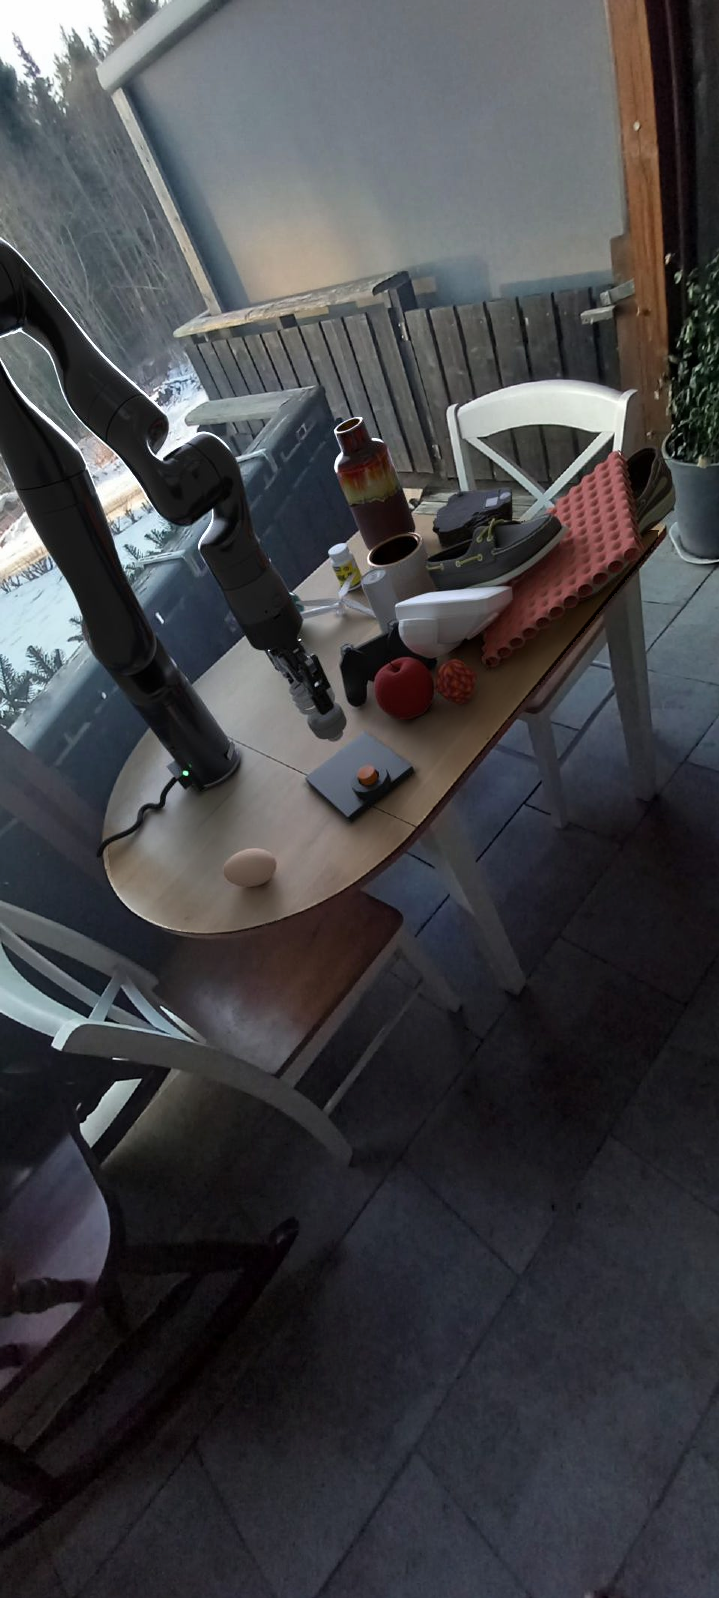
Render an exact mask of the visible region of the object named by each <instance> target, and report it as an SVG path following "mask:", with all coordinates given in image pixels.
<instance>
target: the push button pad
mask: <svg viewBox="0 0 719 1598" xmlns="http://www.w3.org/2000/svg"><path fill="white" fill-rule="evenodd" d="M364 766H372V767H374V769H375V771H376V773H377V775H378V779H377V781H376V782H375V783H373V784H372V785H369V786H364V785H362V783H361V782H360V780H359V778H358V775H357V774H358V771H359V770H360V769H361V768H362V767H364ZM415 773H416V771H415V769H414V766H413V765H412V764H410V763H409V762H408V761H407V760H405V759H403V758H402V757H401V756H400V755H398V754H397V753H395V752H394V751H392V750H391V749H390V748H389V747H387V746H386V745H384V744H383V743H382V742H380V741H378V740H377V739H376V738H375V737H373V736H372V735H371V734H369V733H368V732H366V731H363V732H362V733H361V734H359V735H358V736H357V737H356V738H354V739H352V740H351V741H350V742H349V743H347V745H345V746H344V747H342V748H341V749H340V750H339V751H337V752H336V753H335V754H333V755H332V756H330V757H329V758H328V759H327V760H325V761H324V762H323V763H321V764H320V765H319V766H318V767H316V769H314V770H312V771H311V772H310V773H309V774H308V775H306V776H305V777H304V779H305V781H306V782H307V784H308V785H309V786H310V787H311V788H312V789H314V791H315V792H317V793H318V794H319V796H321V797H322V798H323V799H324V800H325V801H327V802H328V803H329V805H331V806H332V807H333V808H334V809H335V810H336V811H337V812H338V813H339V814H340V815H342V816H343V817H344V818H345V819H346V820H347V821H348V822H349V823H350V824H352V823H354V822H355V821H356V820H358V818H360V817H362V815H364V814H365V813H366V812H368V811H369V810H370V809H371V808H372V807H374V806H375V805H376V804H377V803H378V802H380V801H381V800H383V798H385V797H386V796H387V795H389V794H390V793H391V792H392V791H393V790H395V789H397V788H398V787H399V786H400V785H401V784H403V783H404V782H405V781H406V780H408V779H409V778H410V777H411V776H412V775H414V774H415Z"/></svg>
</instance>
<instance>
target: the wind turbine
mask: <svg viewBox="0 0 719 1598" xmlns="http://www.w3.org/2000/svg"><path fill="white" fill-rule="evenodd" d="M355 575H356V572H355V573H354V574H352V575H351V576H349V577H348V578H347V580H346V581H345V583H344V585H343V586H342V588H340V590H339V591H338V593H337V595H338V596H339V597H338V598H337V597H334V598H333V597H332V598H321V599H308V600H302V601H296V604H300V605H303V606H304V607H317V608H313V609H308V610H305V611H304V612H300V614H301V616H302V618H303V619H304V620H307V619H311V618H315V617H318V616H322V615H326V614H331V613H335V612H337V614H338V615H341V616H342V615H344V614H346V609H345V608H346V607H347V608H349V609H352V610H356V611H359V612H362V613H364V614H367V615H368V616H371V617H372V618H374V619H376V617H375V615H374V612H373V610H372V608H369V607H367V606H365V605H364V604H361V603H360V602H358V601H356V600H355V599H350V598H349V599H348V598H345V597H347V596H348V593H349V591H348V590H349V588H350V585H351V582H352V580H353V578H354V576H355ZM345 606H346V607H345Z"/></svg>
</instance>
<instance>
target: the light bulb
mask: <svg viewBox="0 0 719 1598" xmlns="http://www.w3.org/2000/svg"><path fill="white" fill-rule="evenodd" d="M298 684H300V683H296V682H295V681H294V682H293V683H292V684H291V685H290V686H289V687H288V692H289V694H290V695H291V699H292V701H293V702H294V705H295V707H296V708H297V709H298V711H299V712H300V713H301V714H302V715H305V716H307V717H306V724H307V725H308V728H309V729H310V731H311V732H312V733H313V734H314V736H315V737H316V738H317V739H320V740H327V741H329V742H332V743H335V742H338V741H339V740H341V739H342V737H343V736H344V730H345V729H346V726H347V721H348V719H347V717H346V715H345V712H344V710H343V708H342V706H341V705H340V704H339V703H338V702H337V701H335V700H336V695H335V691H334V690H333V686H332V685H331V684H330V686H331V687H330V688H329V689H327V690H326V691H327V693H328V695H329V697H330V699H331V701H332V702H333V704H334V707H333V709H332V710H330V711H329V712H328V713H326V714H325V715H321V714H320V713H319V712H318V710H317V709H316V707H315V705H314V703H313V701H312V700H311V698H310V696H309V695H308V694H307V691H306V690H305V689H304V687H303V686H302V684H301V685H299V686H298V687H297V688H296V689H295V687H296V686H297V685H298ZM294 689H295V690H294ZM298 694H299V695H298ZM297 695H298V696H297Z"/></svg>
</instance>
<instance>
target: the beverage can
mask: <svg viewBox="0 0 719 1598" xmlns="http://www.w3.org/2000/svg"><path fill="white" fill-rule="evenodd" d="M361 583H362V584H361V588H362V590H363V592H364V595H365V597H366V599H367V602H368V604H369V605H370V609H371V610H372V611H373V612H374V615H375V617H376V618H375V619H376V622H377V624H378V626H379V628H380V631H381V634H383V633H385V632H386V631H388V630H387V626H388V625H387V623H388V622H389V621H390V620H393V619H396V612H395V606H396V604H398V603H399V601H398V599H397V596H396V594H395V591H394V589H393V586H392V584H391V581H390V579H389V576H388V574H387V573H386V571H385V570H384V569H382V568H377V569H373V570H369V571H367V572H365V573H364V574H363V575H362V578H361ZM397 620H398V619H397Z"/></svg>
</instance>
